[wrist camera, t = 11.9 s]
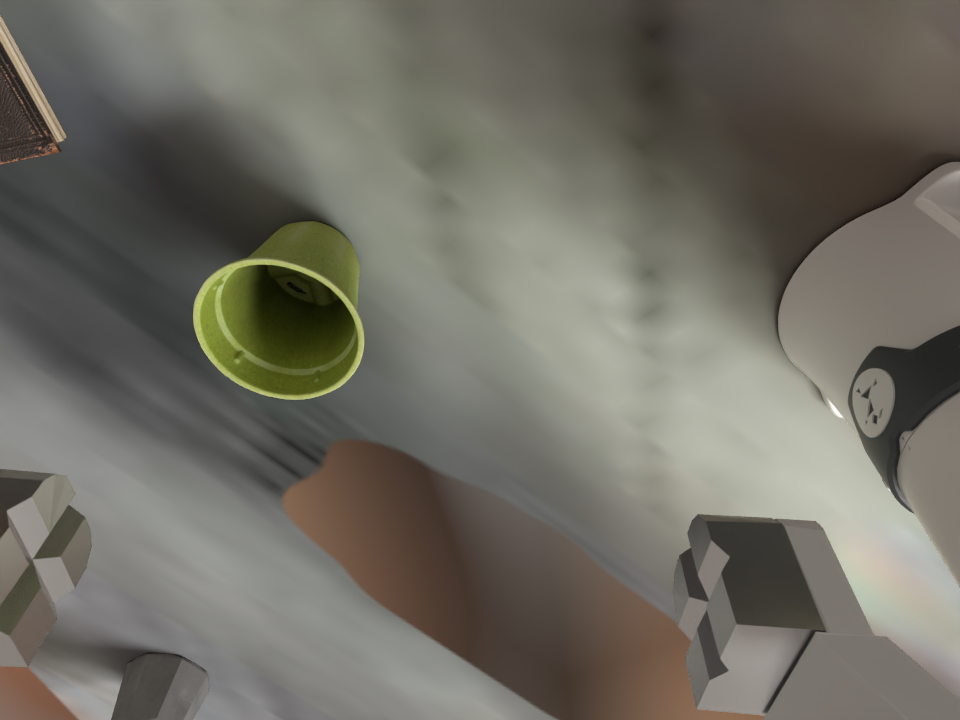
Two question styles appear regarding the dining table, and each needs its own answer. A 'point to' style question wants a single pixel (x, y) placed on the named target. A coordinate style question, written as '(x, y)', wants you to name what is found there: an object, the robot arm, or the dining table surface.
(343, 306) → the plant pot
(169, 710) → the coffeepot
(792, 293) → the robot arm
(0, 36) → the hardcover book
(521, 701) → the dining table surface
